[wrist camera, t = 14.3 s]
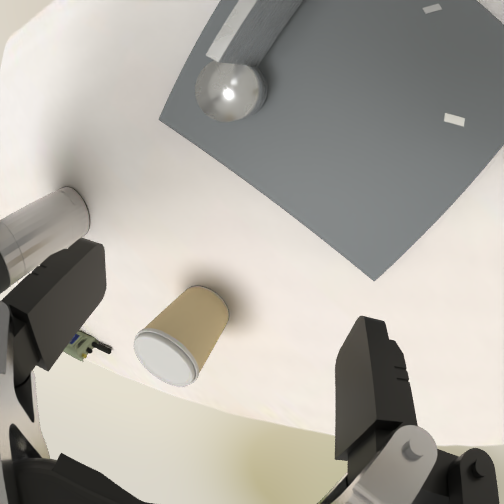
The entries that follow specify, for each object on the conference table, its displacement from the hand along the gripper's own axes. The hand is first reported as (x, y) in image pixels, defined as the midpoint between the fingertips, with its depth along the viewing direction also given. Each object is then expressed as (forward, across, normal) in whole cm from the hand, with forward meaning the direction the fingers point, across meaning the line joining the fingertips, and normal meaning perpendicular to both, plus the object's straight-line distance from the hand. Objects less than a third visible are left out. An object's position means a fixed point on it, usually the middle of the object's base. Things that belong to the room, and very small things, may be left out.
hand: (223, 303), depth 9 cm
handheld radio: (+36, -37, -55) cm, 76 cm away
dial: (+24, -3, +12) cm, 27 cm away
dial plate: (+24, +5, +8) cm, 26 cm away
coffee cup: (+28, -5, -26) cm, 39 cm away
